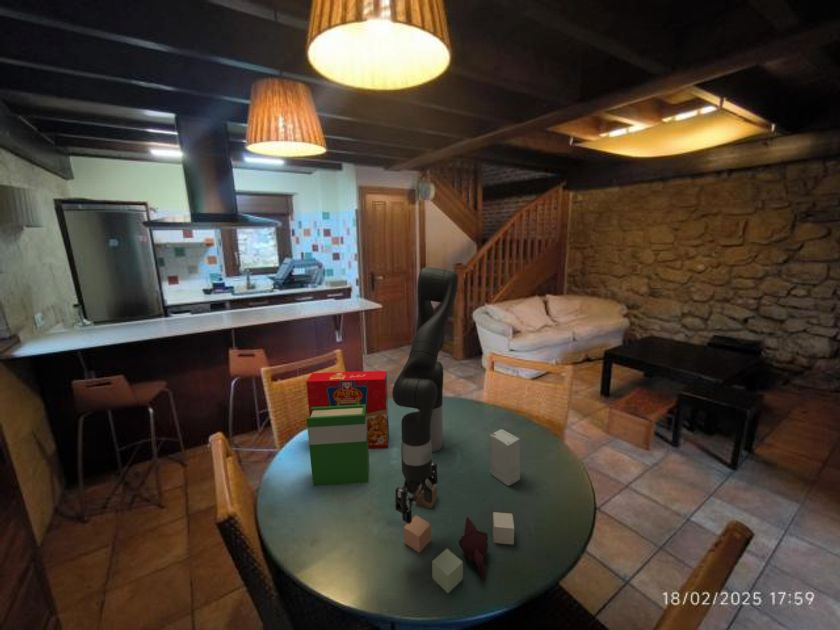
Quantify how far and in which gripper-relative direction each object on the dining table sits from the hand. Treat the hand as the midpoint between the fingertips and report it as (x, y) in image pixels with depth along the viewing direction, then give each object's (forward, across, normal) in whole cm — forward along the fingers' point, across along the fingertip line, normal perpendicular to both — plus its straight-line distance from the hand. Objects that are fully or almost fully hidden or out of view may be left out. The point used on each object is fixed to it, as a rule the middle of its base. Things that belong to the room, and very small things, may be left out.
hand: (418, 511), depth 92 cm
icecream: (+10, -6, +13) cm, 17 cm away
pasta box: (+9, -20, -48) cm, 53 cm away
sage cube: (+10, +4, +12) cm, 16 cm away
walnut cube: (+9, -13, -7) cm, 18 cm away
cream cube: (+10, -15, +17) cm, 24 cm away
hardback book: (+9, -5, -36) cm, 38 cm away
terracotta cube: (+10, 0, 0) cm, 10 cm away
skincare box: (+9, -37, +7) cm, 39 cm away
